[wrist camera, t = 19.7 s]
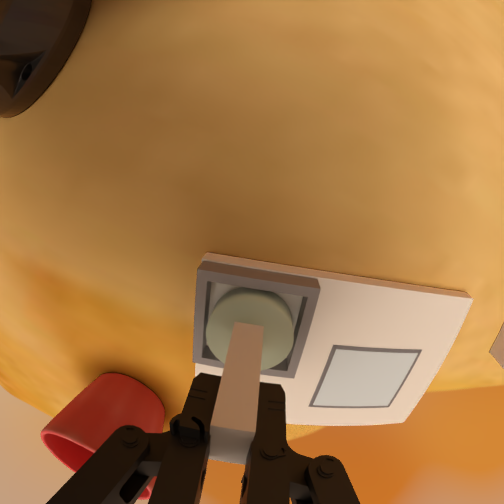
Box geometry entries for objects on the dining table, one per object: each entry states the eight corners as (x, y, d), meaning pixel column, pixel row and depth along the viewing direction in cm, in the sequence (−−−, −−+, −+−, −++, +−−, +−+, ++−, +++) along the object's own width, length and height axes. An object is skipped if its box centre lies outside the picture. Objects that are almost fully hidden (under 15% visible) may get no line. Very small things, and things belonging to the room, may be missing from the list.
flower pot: (203, 422, 23) (181, 505, 14) (133, 434, 26) (106, 495, 16) (129, 346, 21) (73, 430, 12) (70, 372, 23) (25, 430, 14)
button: (215, 279, 16) (208, 293, 15) (300, 293, 16) (302, 308, 14) (209, 346, 18) (203, 363, 16) (283, 358, 18) (283, 376, 16)
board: (206, 252, 17) (195, 267, 15) (465, 292, 17) (482, 307, 14) (197, 399, 22) (190, 421, 19) (400, 414, 21) (407, 432, 19)
